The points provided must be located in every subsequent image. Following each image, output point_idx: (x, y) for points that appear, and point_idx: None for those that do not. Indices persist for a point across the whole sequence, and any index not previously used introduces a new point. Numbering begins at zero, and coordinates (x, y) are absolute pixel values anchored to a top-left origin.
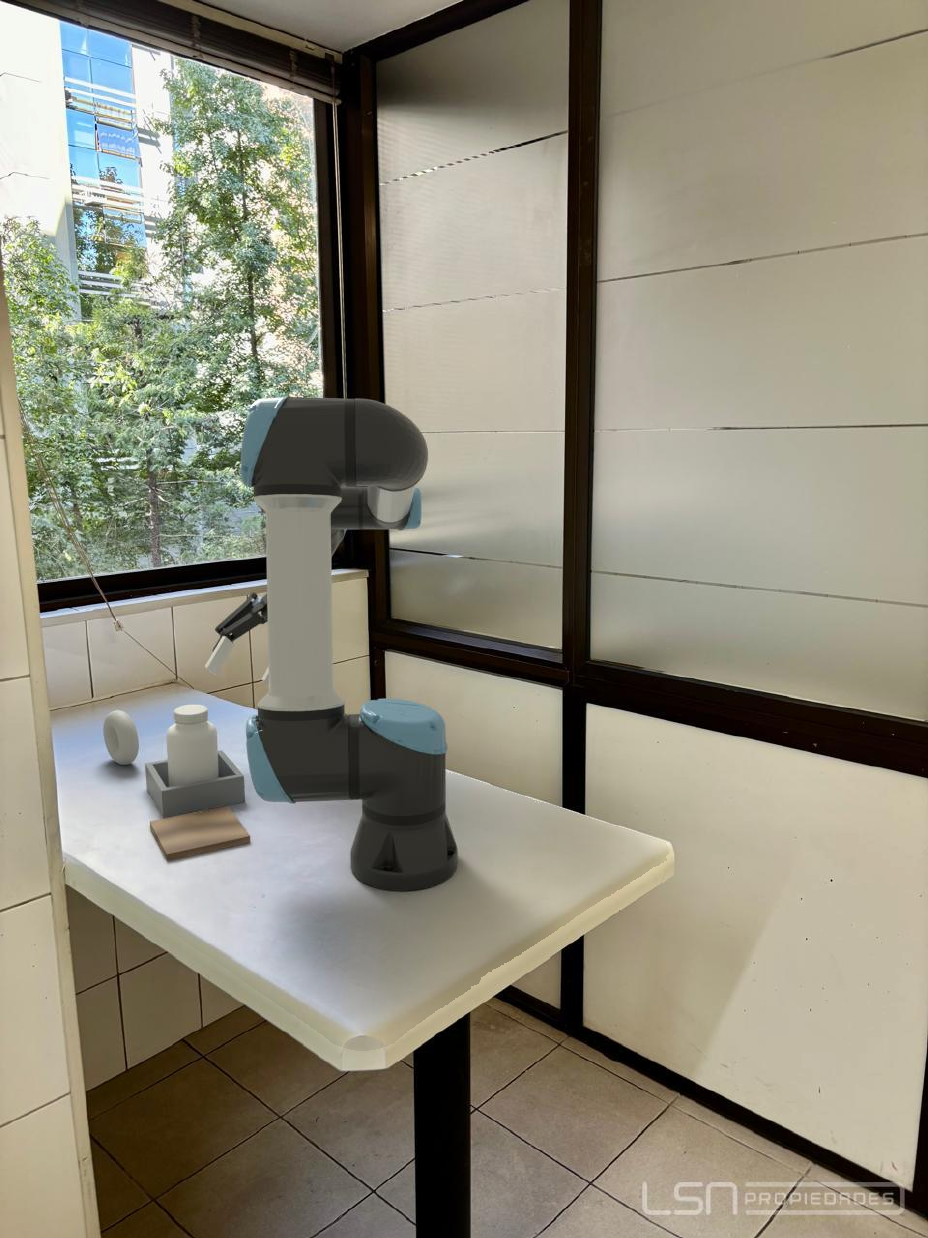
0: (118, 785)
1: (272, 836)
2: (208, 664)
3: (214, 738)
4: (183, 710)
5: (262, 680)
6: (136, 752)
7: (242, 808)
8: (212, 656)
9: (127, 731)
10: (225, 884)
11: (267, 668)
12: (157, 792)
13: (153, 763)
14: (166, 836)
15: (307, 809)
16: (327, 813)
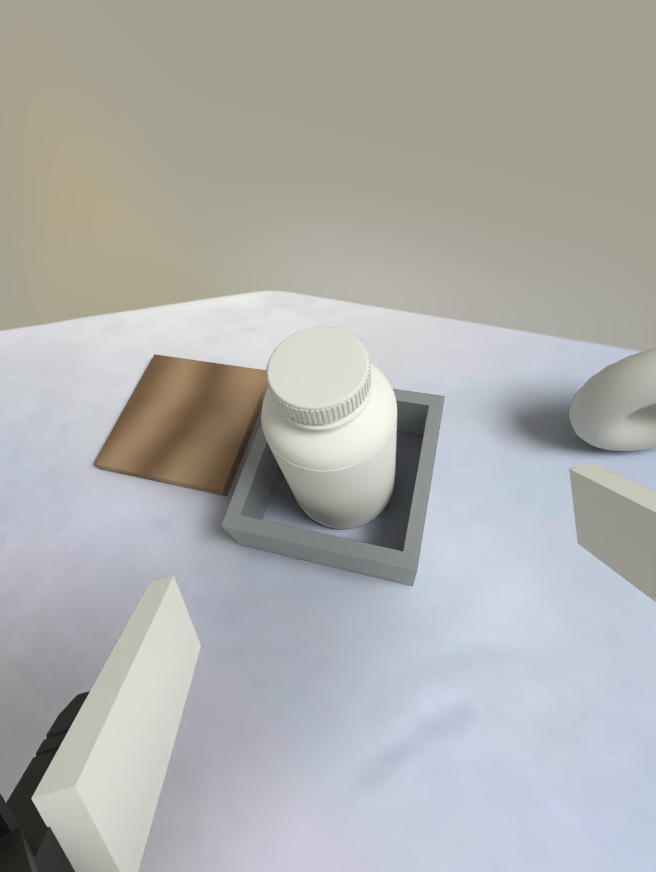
0: (489, 395)
1: (83, 507)
2: (584, 473)
3: (272, 450)
4: (322, 346)
5: (176, 585)
6: (575, 428)
7: (218, 525)
8: (630, 491)
9: (598, 379)
10: (43, 390)
11: (153, 620)
12: None
13: (432, 408)
14: (202, 371)
15: (104, 629)
16: (54, 652)
